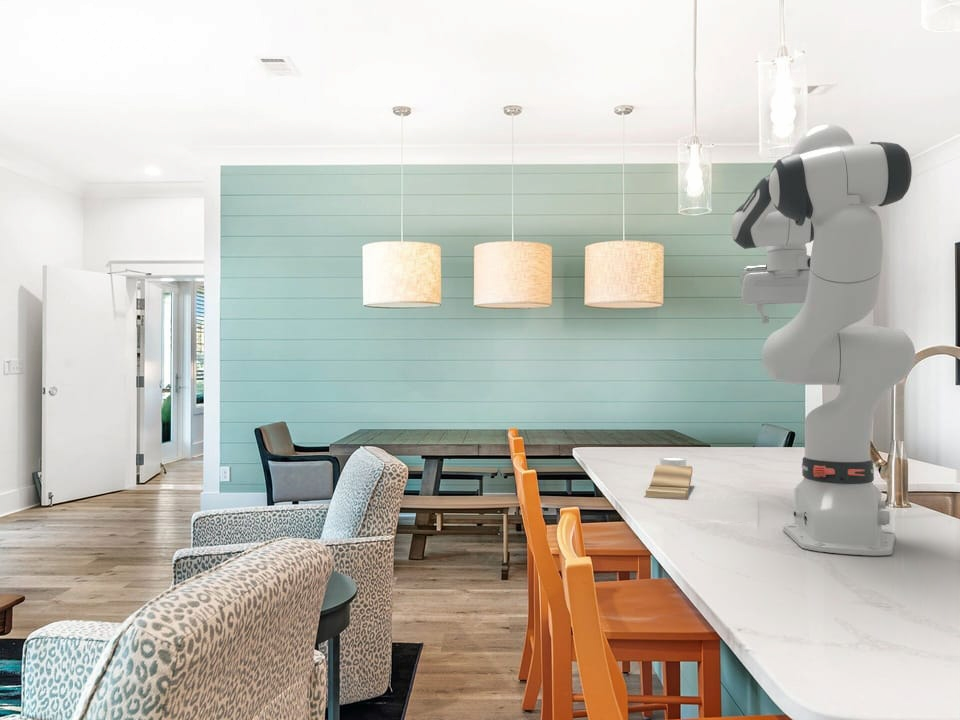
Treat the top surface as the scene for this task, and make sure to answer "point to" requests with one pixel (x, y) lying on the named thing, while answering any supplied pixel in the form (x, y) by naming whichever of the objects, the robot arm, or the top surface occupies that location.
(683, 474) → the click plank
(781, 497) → the top surface
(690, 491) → the block
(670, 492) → the laid strip
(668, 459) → the white ramekin cup
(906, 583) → the top surface
